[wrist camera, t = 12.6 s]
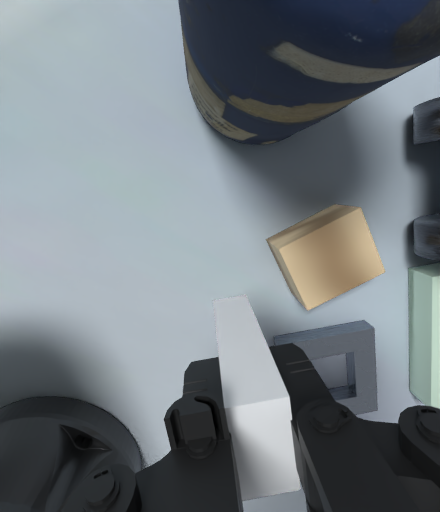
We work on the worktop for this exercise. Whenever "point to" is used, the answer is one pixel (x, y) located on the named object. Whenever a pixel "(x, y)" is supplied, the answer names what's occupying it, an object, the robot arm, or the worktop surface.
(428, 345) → the tray
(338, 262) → the block
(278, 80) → the canister
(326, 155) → the worktop surface
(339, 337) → the collar
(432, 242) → the trolley
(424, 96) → the worktop surface
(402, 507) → the robot arm
